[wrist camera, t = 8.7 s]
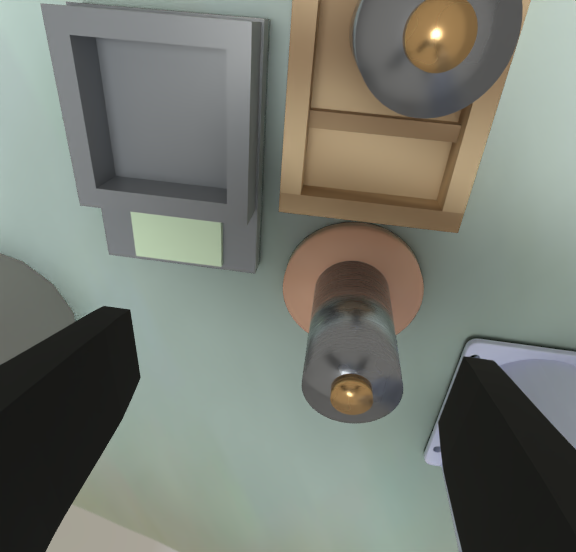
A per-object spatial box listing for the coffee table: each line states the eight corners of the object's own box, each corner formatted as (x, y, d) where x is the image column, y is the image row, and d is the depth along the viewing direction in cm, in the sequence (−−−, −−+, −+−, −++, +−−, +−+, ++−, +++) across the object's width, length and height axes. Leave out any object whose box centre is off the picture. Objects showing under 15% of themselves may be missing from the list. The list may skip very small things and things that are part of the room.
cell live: (438, 91, 15) (497, 131, 9) (342, 80, 15) (344, 114, 9) (467, -27, 13) (562, -65, 8) (358, -37, 13) (373, -81, 8)
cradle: (259, 262, 20) (247, 292, 18) (119, 244, 21) (91, 271, 18) (269, 19, 15) (255, 17, 13) (81, 3, 15) (36, -1, 13)
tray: (448, 215, 18) (457, 233, 16) (285, 196, 18) (278, 211, 17) (539, -97, 13) (565, -113, 11) (307, -111, 13) (300, -129, 11)
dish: (404, 344, 21) (406, 355, 21) (280, 327, 22) (278, 337, 21) (436, 231, 18) (439, 239, 17) (290, 213, 19) (288, 221, 18)
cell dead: (381, 327, 20) (393, 441, 15) (311, 317, 20) (296, 426, 15) (396, 265, 18) (415, 369, 13) (319, 256, 19) (305, 353, 13)
